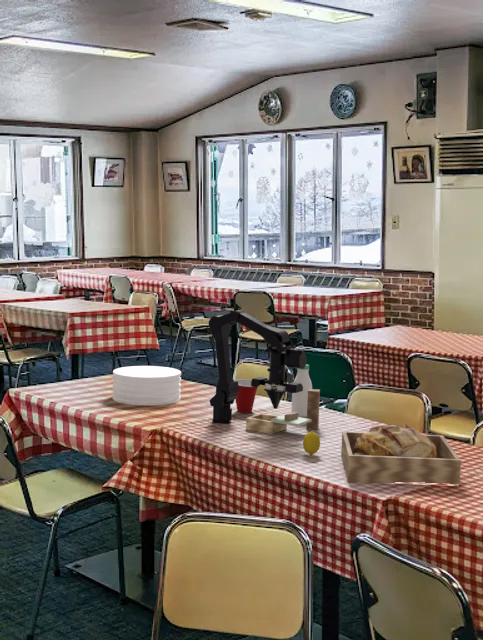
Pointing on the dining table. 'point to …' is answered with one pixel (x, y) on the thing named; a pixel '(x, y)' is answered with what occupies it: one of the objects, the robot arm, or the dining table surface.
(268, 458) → the dining table surface
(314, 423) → the tan rectangular bar
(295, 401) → the milk bottle
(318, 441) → the lemon
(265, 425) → the open wooden box
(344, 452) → the bread crate
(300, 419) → the lid
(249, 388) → the plastic cup
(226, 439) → the dining table surface
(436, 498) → the dining table surface
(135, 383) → the plate stack
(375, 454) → the bread
